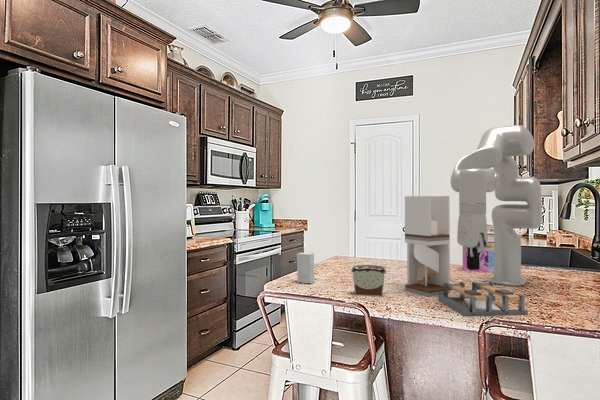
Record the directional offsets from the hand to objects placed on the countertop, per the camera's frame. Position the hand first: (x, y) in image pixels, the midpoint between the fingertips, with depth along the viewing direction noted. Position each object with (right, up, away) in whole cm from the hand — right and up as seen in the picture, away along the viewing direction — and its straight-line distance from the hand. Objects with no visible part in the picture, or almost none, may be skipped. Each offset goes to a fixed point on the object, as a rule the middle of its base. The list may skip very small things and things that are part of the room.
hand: (473, 269), depth 118 cm
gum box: (+36, -13, +64) cm, 74 cm away
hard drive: (+4, -13, +4) cm, 15 cm away
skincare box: (-51, -13, +40) cm, 65 cm away
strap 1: (-1, -9, +4) cm, 10 cm away
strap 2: (+9, -9, +4) cm, 14 cm away
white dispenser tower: (-6, -13, +24) cm, 28 cm away
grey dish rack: (+4, -13, +4) cm, 14 cm away
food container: (-28, -13, +21) cm, 37 cm away
